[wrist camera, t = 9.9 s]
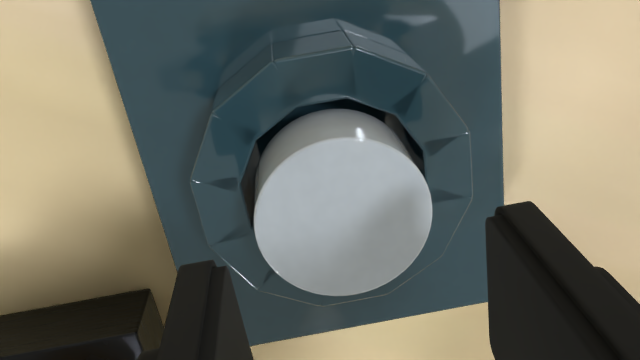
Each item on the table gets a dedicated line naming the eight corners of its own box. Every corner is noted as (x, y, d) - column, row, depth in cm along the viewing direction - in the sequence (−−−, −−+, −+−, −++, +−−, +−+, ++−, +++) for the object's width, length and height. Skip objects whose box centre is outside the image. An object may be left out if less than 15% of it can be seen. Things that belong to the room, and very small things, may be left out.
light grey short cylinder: (417, 236, 15) (439, 279, 13) (271, 263, 15) (272, 310, 13) (404, 94, 14) (426, 121, 12) (239, 123, 14) (235, 156, 12)
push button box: (475, 250, 21) (533, 340, 17) (211, 299, 21) (197, 403, 16) (458, -105, 16) (534, -115, 12) (109, -44, 16) (48, -29, 11)
